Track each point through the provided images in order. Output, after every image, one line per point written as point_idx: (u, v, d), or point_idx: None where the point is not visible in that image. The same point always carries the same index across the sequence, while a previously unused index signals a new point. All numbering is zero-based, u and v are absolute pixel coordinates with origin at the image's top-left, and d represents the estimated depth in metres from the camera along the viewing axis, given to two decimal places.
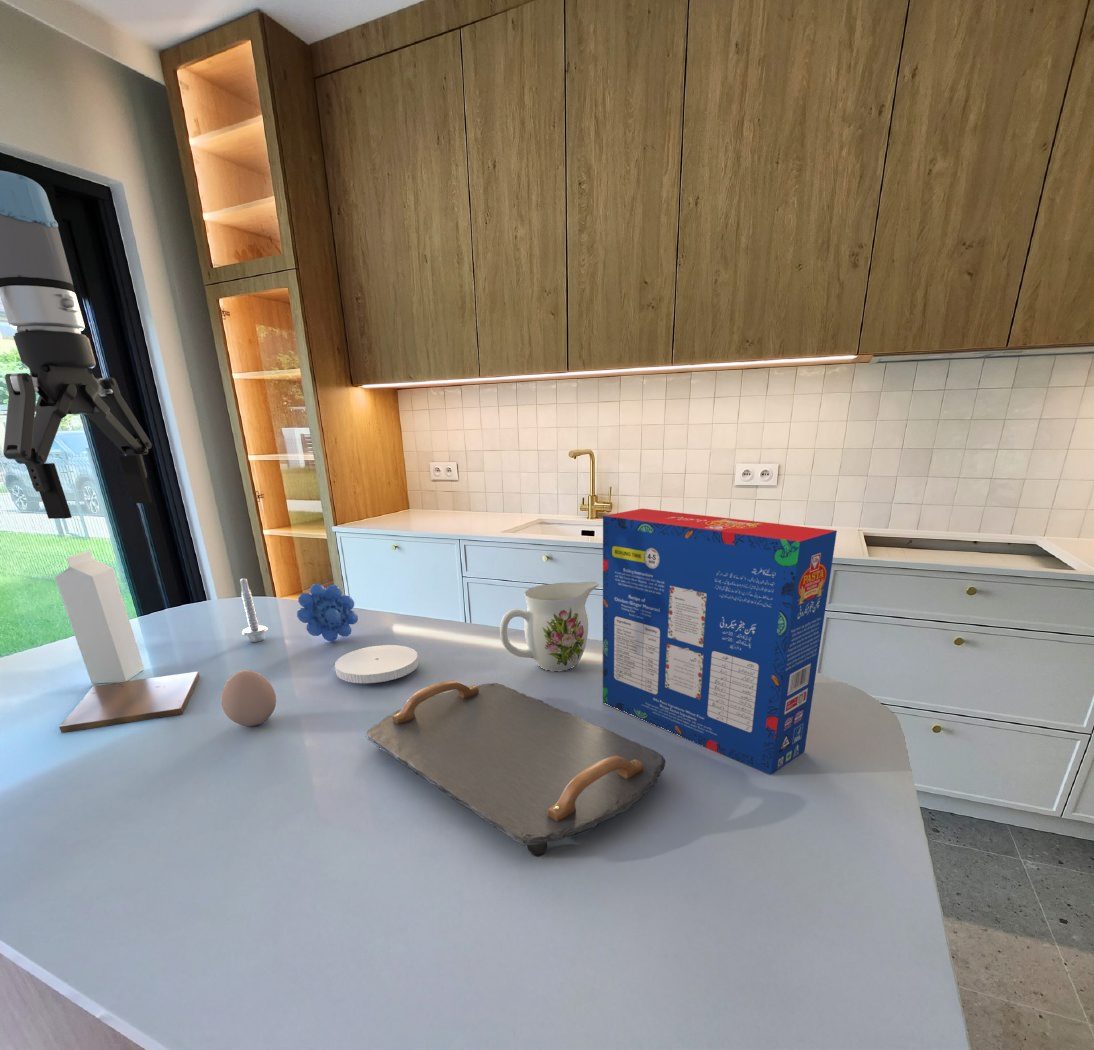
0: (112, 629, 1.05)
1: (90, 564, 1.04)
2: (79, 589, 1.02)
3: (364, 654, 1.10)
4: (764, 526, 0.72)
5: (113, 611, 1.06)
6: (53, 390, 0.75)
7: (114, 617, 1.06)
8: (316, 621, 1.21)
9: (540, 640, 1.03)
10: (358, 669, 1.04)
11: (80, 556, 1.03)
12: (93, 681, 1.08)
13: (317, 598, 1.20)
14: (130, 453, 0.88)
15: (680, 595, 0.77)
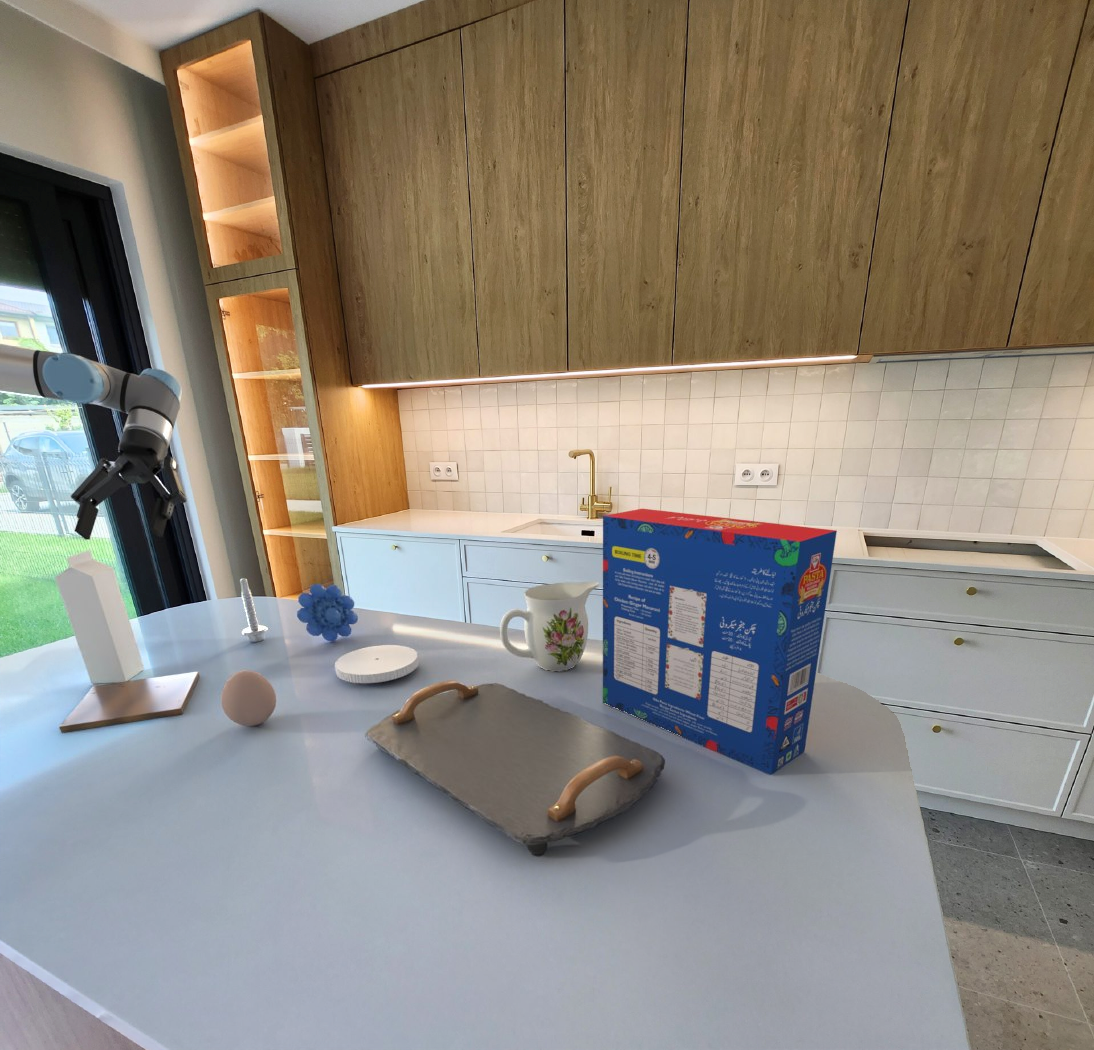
0: (112, 629, 1.05)
1: (90, 564, 1.04)
2: (79, 589, 1.02)
3: (364, 654, 1.10)
4: (764, 526, 0.72)
5: (113, 611, 1.06)
6: None
7: (115, 617, 1.06)
8: (316, 621, 1.21)
9: (540, 640, 1.03)
10: (358, 669, 1.04)
11: (80, 556, 1.03)
12: (93, 681, 1.08)
13: (317, 598, 1.20)
14: None
15: (680, 595, 0.77)
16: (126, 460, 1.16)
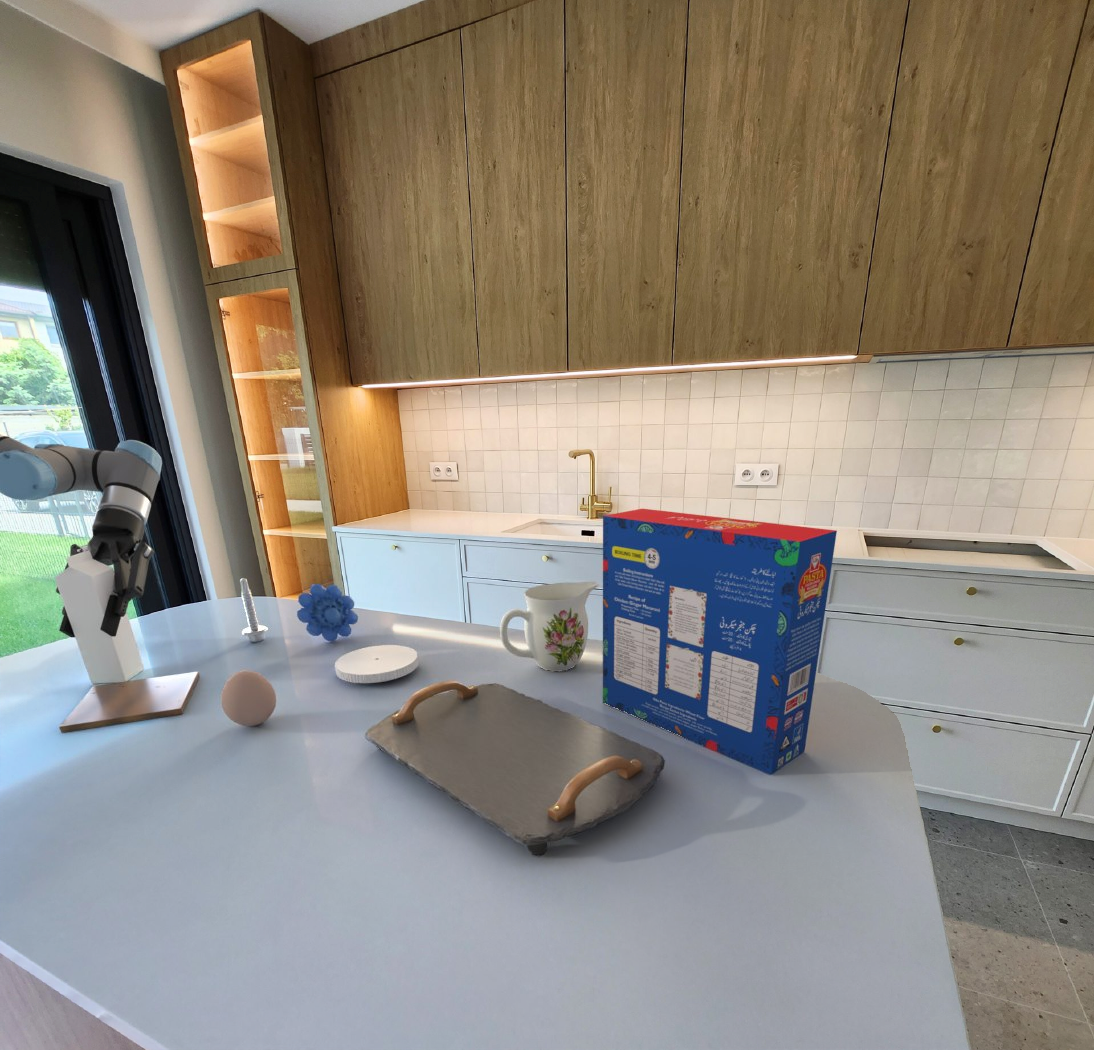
0: None
1: (90, 564, 1.04)
2: (79, 589, 1.02)
3: (364, 654, 1.10)
4: (764, 526, 0.72)
5: None
6: None
7: None
8: (316, 621, 1.21)
9: (540, 640, 1.03)
10: (358, 669, 1.04)
11: (80, 556, 1.03)
12: (93, 681, 1.08)
13: (317, 598, 1.20)
14: None
15: (680, 595, 0.77)
16: (100, 542, 1.08)
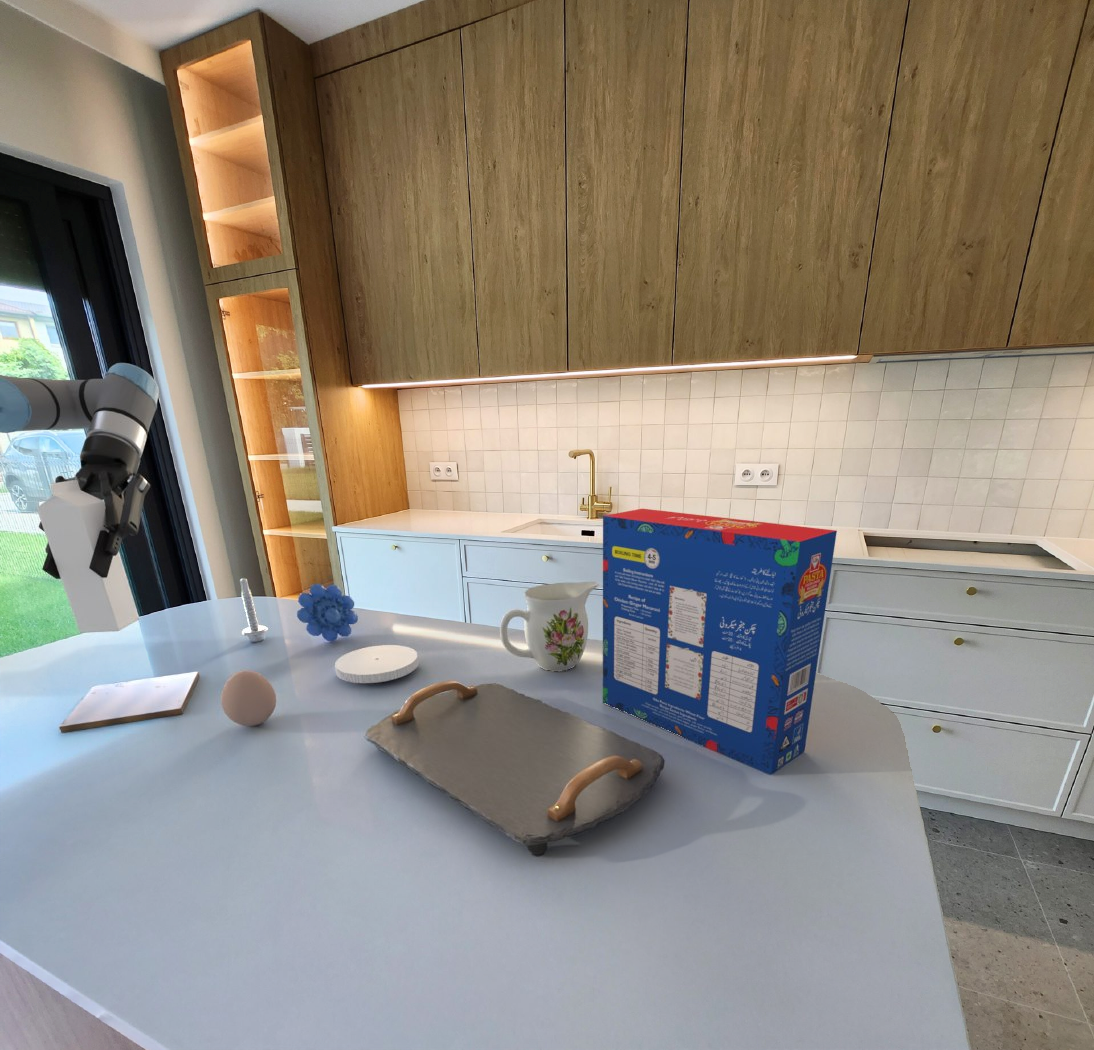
0: None
1: (77, 495, 0.91)
2: (64, 522, 0.89)
3: (364, 654, 1.10)
4: (764, 526, 0.72)
5: None
6: None
7: None
8: (316, 621, 1.21)
9: (540, 640, 1.03)
10: (358, 669, 1.04)
11: (66, 485, 0.90)
12: (81, 630, 0.96)
13: (317, 598, 1.20)
14: None
15: (680, 595, 0.77)
16: (89, 473, 0.96)
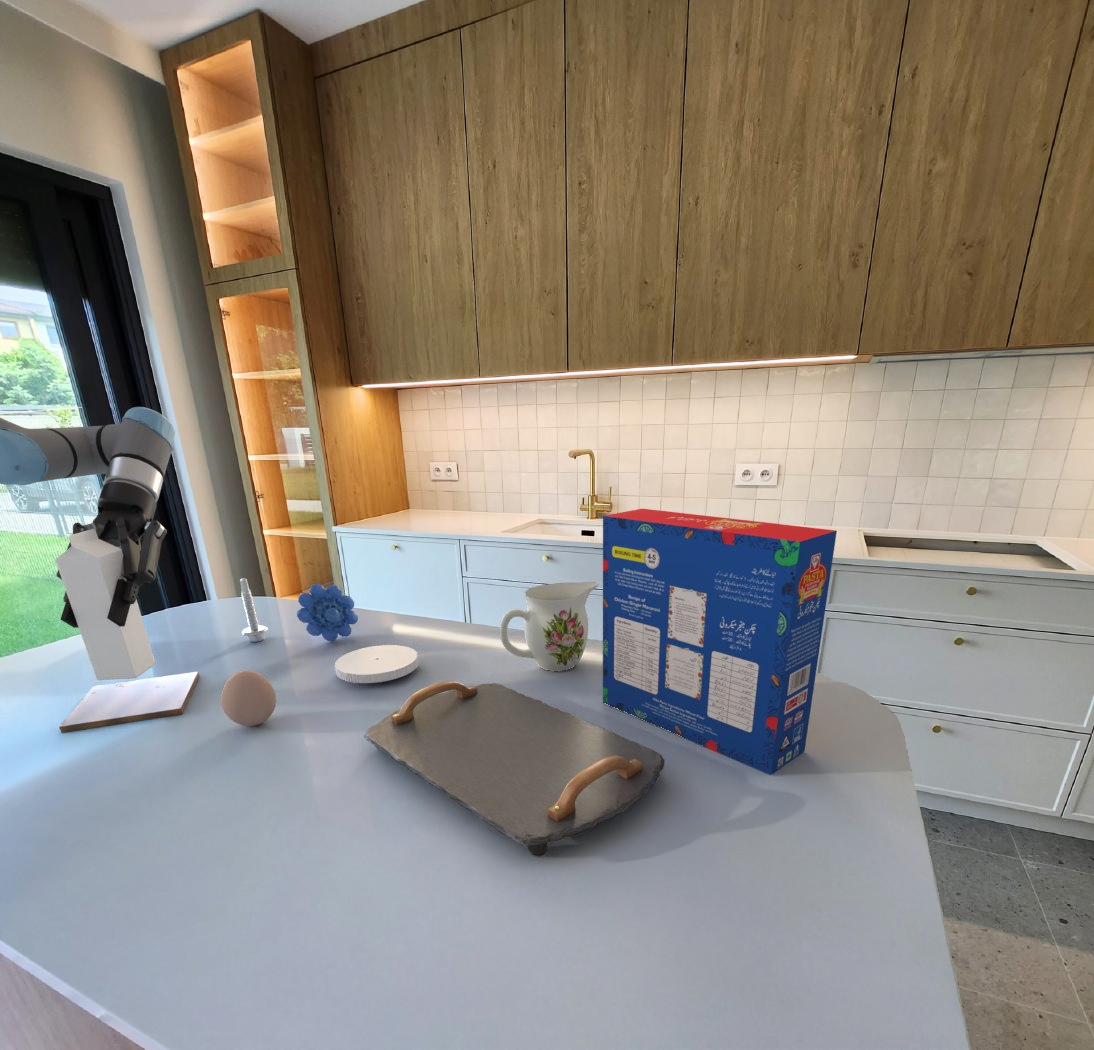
0: None
1: (95, 544, 0.91)
2: (83, 572, 0.89)
3: (364, 654, 1.10)
4: (764, 526, 0.72)
5: None
6: None
7: None
8: (316, 621, 1.21)
9: (540, 640, 1.03)
10: (358, 669, 1.04)
11: (84, 535, 0.90)
12: (99, 677, 0.95)
13: (317, 598, 1.20)
14: None
15: (680, 595, 0.77)
16: (106, 520, 0.96)
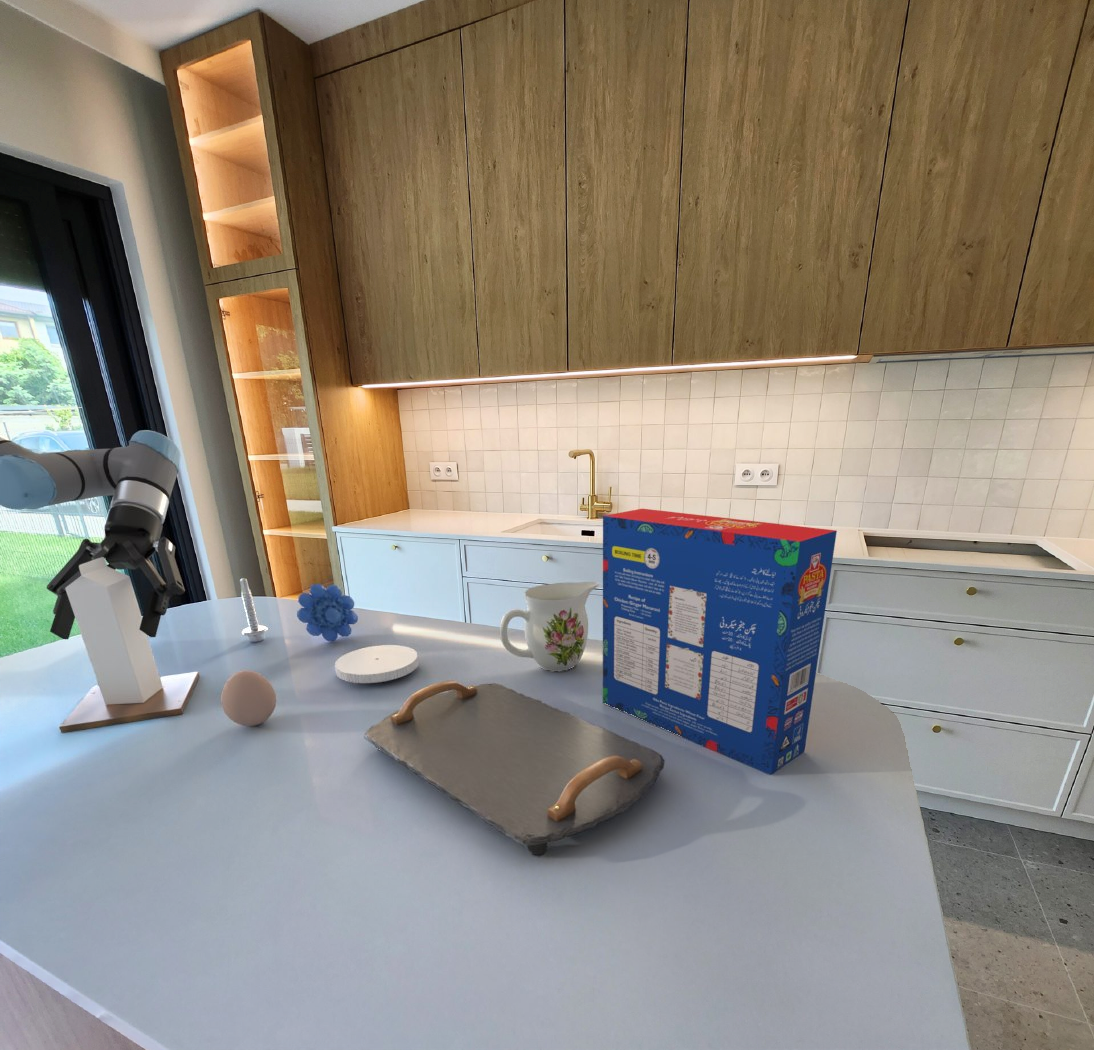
0: (128, 644, 0.95)
1: (104, 572, 0.93)
2: (92, 601, 0.91)
3: (364, 654, 1.10)
4: (764, 526, 0.72)
5: (129, 625, 0.95)
6: None
7: (131, 631, 0.95)
8: (316, 621, 1.21)
9: (540, 640, 1.03)
10: (358, 669, 1.04)
11: (93, 563, 0.92)
12: (107, 702, 0.97)
13: (317, 598, 1.20)
14: None
15: (680, 595, 0.77)
16: (113, 543, 0.97)
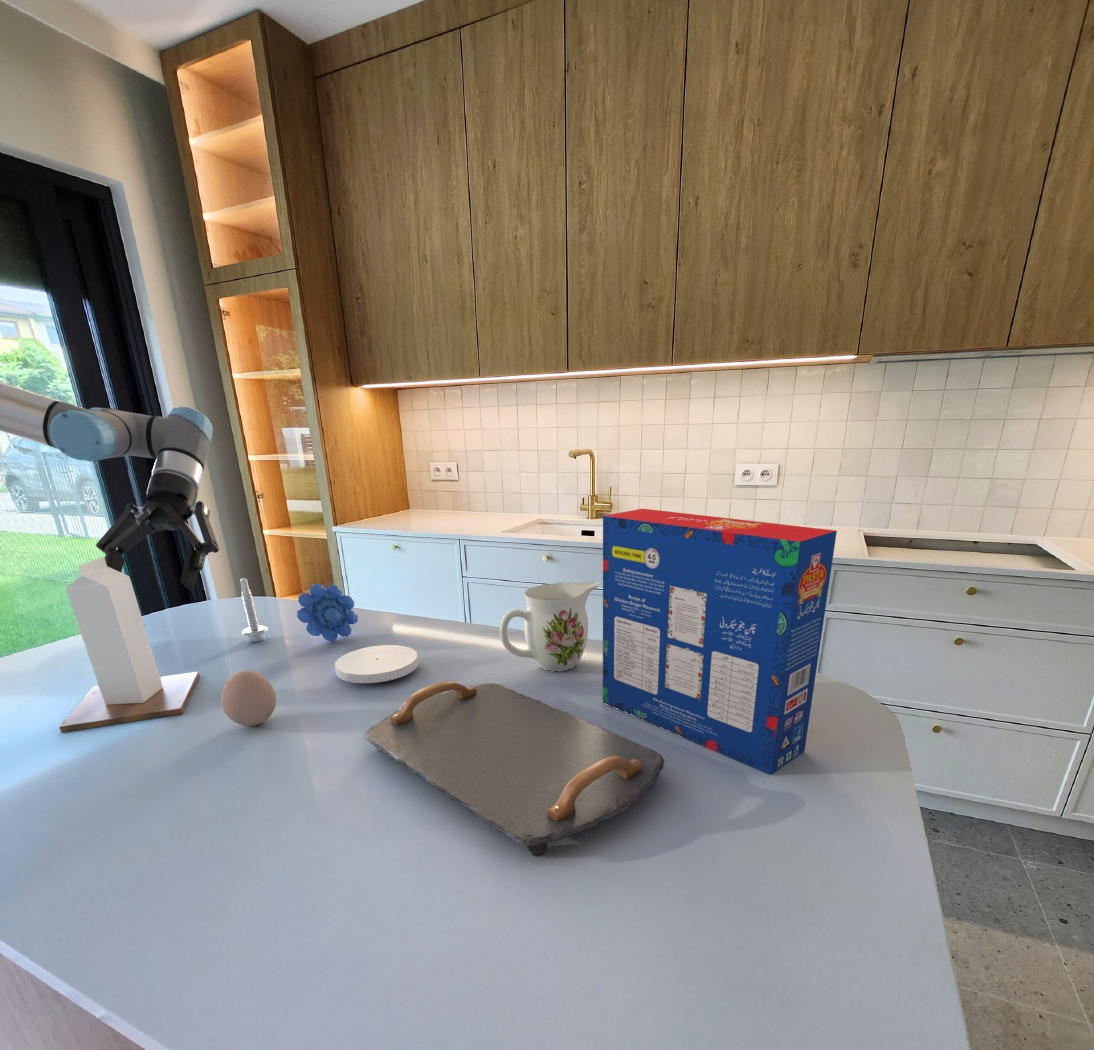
0: (128, 644, 0.95)
1: (104, 572, 0.93)
2: (92, 601, 0.91)
3: (364, 654, 1.10)
4: (764, 526, 0.72)
5: (129, 625, 0.95)
6: None
7: (131, 631, 0.95)
8: (316, 621, 1.21)
9: (540, 640, 1.03)
10: (358, 669, 1.04)
11: (93, 563, 0.92)
12: (107, 702, 0.97)
13: (317, 598, 1.20)
14: None
15: (680, 595, 0.77)
16: (155, 506, 1.08)
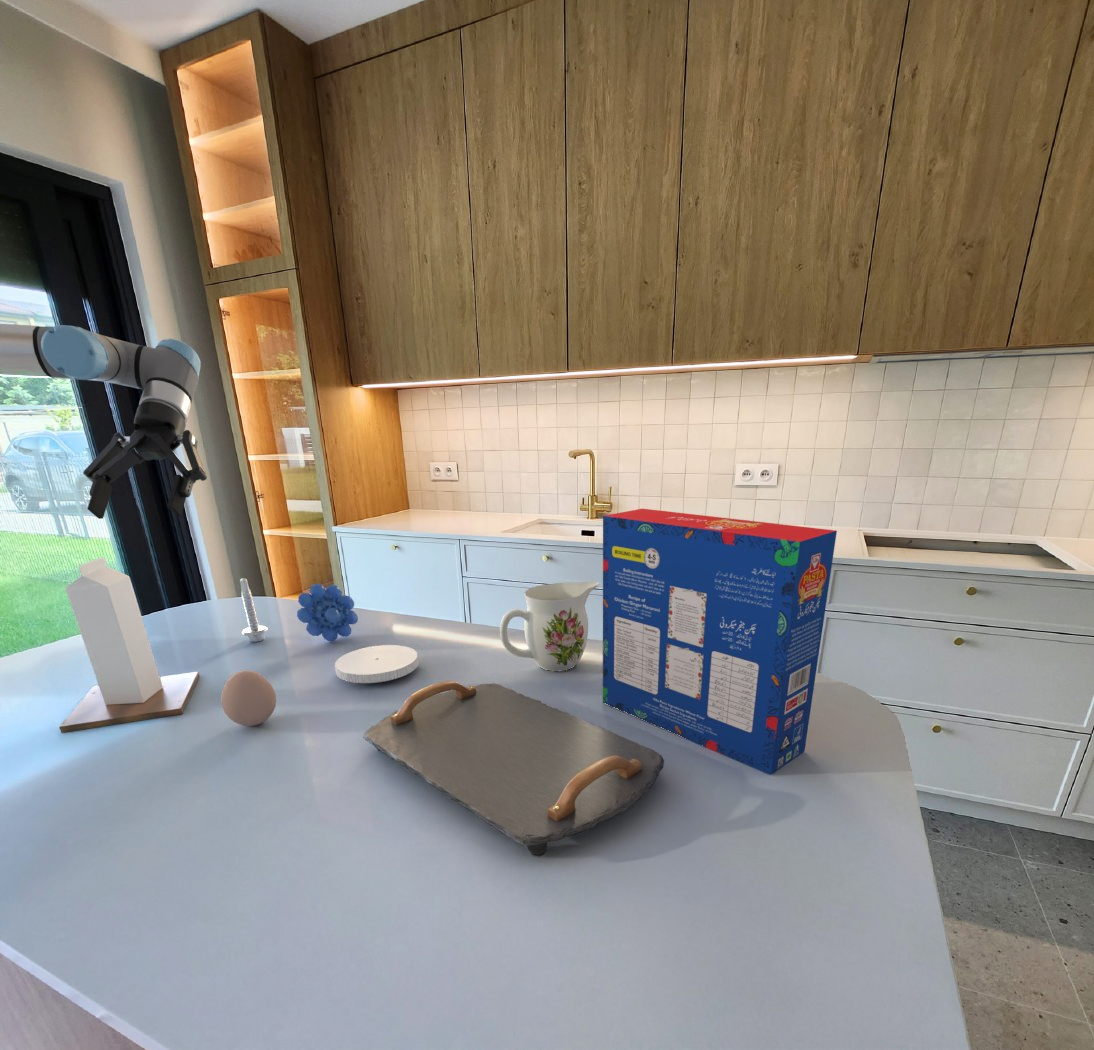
0: (128, 644, 0.95)
1: (104, 572, 0.93)
2: (92, 601, 0.91)
3: (364, 654, 1.10)
4: (764, 526, 0.72)
5: (129, 625, 0.95)
6: None
7: (131, 631, 0.95)
8: (316, 621, 1.21)
9: (540, 640, 1.03)
10: (358, 669, 1.04)
11: (93, 563, 0.92)
12: (107, 702, 0.97)
13: (317, 598, 1.20)
14: None
15: (680, 595, 0.77)
16: (142, 435, 1.08)
